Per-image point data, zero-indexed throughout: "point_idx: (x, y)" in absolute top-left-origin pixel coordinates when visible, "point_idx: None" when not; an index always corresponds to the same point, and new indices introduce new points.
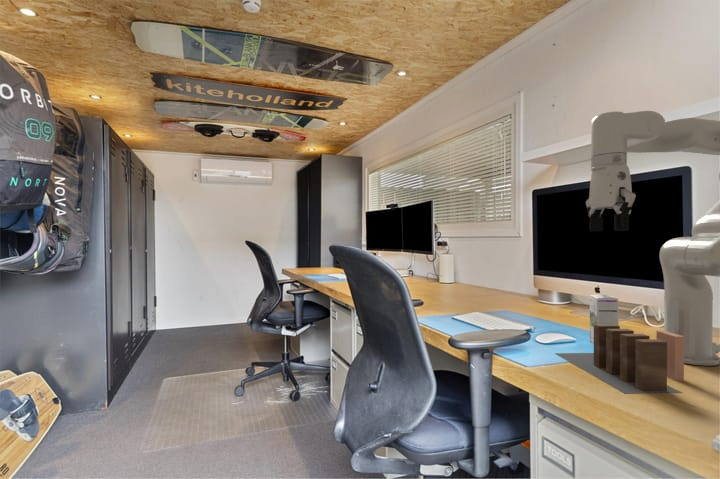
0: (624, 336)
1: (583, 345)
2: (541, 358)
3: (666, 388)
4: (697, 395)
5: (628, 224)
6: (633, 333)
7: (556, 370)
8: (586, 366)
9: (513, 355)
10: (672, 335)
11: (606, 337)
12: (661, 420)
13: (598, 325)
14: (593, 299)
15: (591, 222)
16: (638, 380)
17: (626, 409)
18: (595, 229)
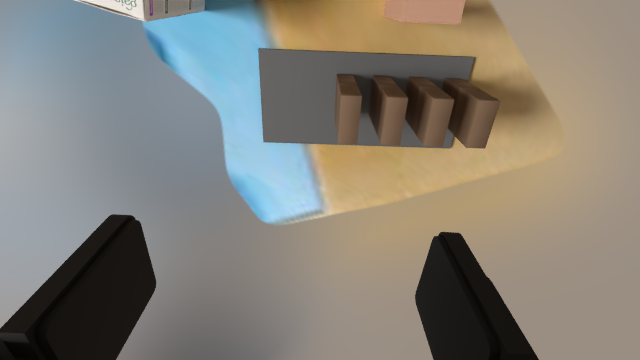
0: (436, 146)
1: (187, 34)
2: (284, 172)
3: (461, 79)
4: (481, 33)
5: (476, 267)
6: (406, 96)
7: (343, 179)
8: None
9: (268, 206)
10: (449, 20)
11: (378, 137)
12: (517, 155)
13: (349, 140)
14: (119, 12)
15: (117, 349)
16: None
17: (481, 173)
18: (145, 273)
